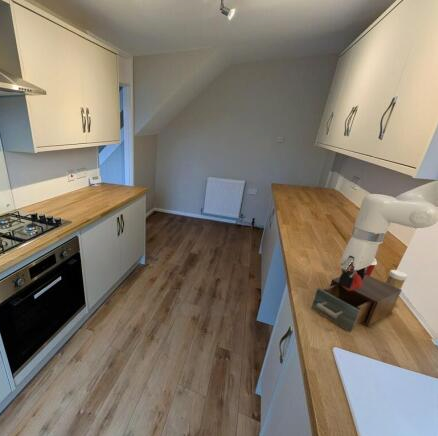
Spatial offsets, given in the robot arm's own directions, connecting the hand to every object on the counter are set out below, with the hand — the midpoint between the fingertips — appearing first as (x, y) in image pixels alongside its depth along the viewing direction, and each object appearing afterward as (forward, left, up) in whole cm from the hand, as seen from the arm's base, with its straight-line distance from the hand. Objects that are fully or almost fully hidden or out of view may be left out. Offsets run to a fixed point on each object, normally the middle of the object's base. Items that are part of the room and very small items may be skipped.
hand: (350, 282), depth 79 cm
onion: (0, 0, -3) cm, 3 cm away
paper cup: (+8, -27, -15) cm, 32 cm away
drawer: (0, 0, -13) cm, 13 cm away
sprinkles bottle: (-3, -26, -15) cm, 30 cm away
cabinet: (0, -12, -14) cm, 19 cm away
